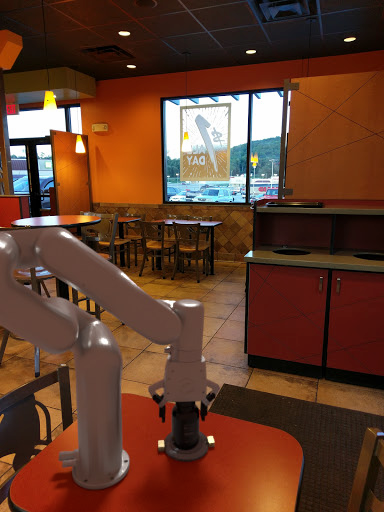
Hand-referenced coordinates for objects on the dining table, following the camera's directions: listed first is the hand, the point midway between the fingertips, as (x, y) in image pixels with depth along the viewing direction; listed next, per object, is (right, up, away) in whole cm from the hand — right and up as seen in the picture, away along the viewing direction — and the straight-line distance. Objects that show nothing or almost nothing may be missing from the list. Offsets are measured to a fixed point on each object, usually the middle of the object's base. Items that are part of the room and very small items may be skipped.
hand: (182, 418), depth 88 cm
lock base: (+1, -7, +2) cm, 8 cm away
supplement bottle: (+1, -7, +1) cm, 7 cm away
